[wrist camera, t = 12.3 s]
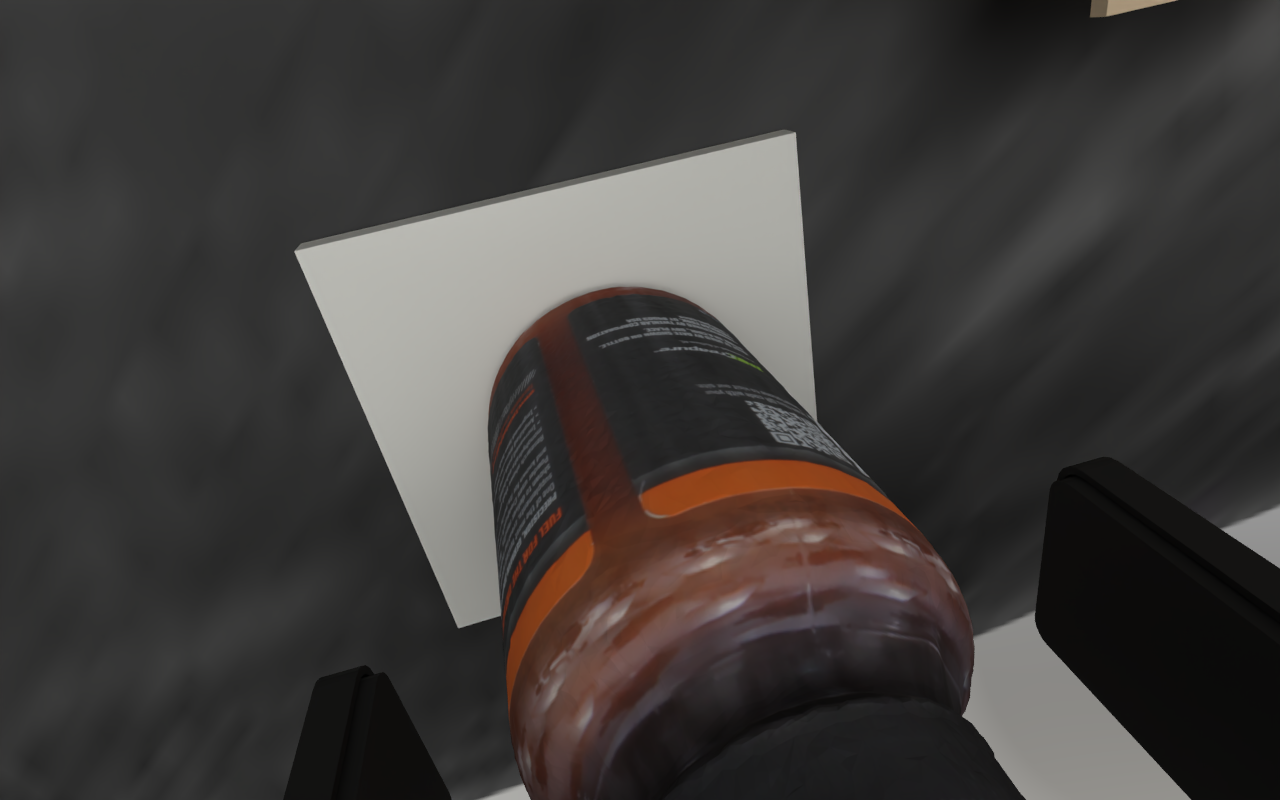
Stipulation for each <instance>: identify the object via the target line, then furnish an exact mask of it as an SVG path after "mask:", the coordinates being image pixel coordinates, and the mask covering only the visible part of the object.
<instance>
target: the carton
mask: <svg viewBox="0 0 1280 800" xmlns="http://www.w3.org/2000/svg"><path fill="white" fill-rule="evenodd" d="M1172 1H1176V0H1092V3H1091V12H1090V17H1107V16H1111V15H1115V14H1120V13H1124V12H1128V11H1133V10H1137V9H1141V8H1146V7H1150V6H1155V5H1159V4H1163V3H1168V2H1172Z"/></svg>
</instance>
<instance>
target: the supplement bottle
mask: <svg viewBox="0 0 1280 800" xmlns="http://www.w3.org/2000/svg"><path fill="white" fill-rule="evenodd" d="M487 429H488V453H489V463H490V476H491V490H492V502H493V513H494V531H495V542H496V555H497V566H498V580H499V595H500V607H501V622H502V635H503V652H504V669H505V675H506V681H507V695H508V711H509V724H510V732H511V739H512V745H513V749H514V753H515V759H516V762H517V765H518V768H519V772H520V776H521V778H522V781H523V783H524V785H525V788H526V790H527V792H528V794H529V797H530V799H531V800H1026V799H1025V798H1024V797H1023V796H1022V795H1021V794H1020V792H1019V791H1018V789H1017V788H1016V787H1015V785H1014V784H1013V783H1012V781H1011V780H1010V778H1009V777H1008V776H1007V774H1006V773H1005V771H1004V770H1003V769H1002V767H1001V766H1000V764H999V763H998V762H997V760H996V759H995V757H994V753H993V751H992V749H991V748H990V746H989V745H988V743H987V742H986V740H985V739H984V737H982V736H981V735H980V734H979V732H978V731H977V730H976V729H975V727H974V726H973V724H972V723H970V722H969V721H968V720H966V719H965V718H963V717H962V715H963V713H964V712H965V710H966V707H967V704H968V701H969V698H970V687H971V677H972V673H973V666H974V641H973V627H972V622H971V619H970V615H969V612H968V608H967V605H966V602H965V600H964V598H963V595H962V593H961V591H960V588H959V586H958V584H957V582H956V580H955V578H954V576H953V575H952V573H951V571H950V570H949V568H948V567H947V566H946V564H945V562H944V561H943V560H942V558H941V557H940V556H939V555H938V553H937V552H936V551H935V550H934V548H933V547H932V545H931V544H930V543H929V542H928V540H927V539H926V538H925V537H924V536H923V534H922V533H921V532H920V531H919V530H918V529H917V528H916V527H915V526H914V525H913V524H912V523H911V522H910V521H909V520H908V519H907V518H906V517H905V515H904V514H903V513H902V512H901V511H900V510H899V509H898V508H897V507H896V506H895V505H894V504H893V503H892V502H891V501H890V500H889V498H888V497H887V496H886V494H885V493H884V492H883V491H882V489H881V488H880V487H879V486H878V485H877V484H876V483H875V482H874V481H873V480H872V479H871V478H870V477H869V476H868V475H867V474H866V473H865V472H864V471H863V470H862V469H861V468H860V467H859V466H858V465H857V463H856V462H855V461H854V460H853V459H852V458H851V457H850V456H849V455H848V454H847V453H846V452H845V451H844V450H843V449H842V448H841V446H840V445H839V444H838V443H837V442H836V441H835V440H834V439H833V438H832V437H831V436H830V435H829V434H828V433H827V432H826V431H825V430H824V429H823V427H822V426H821V425H820V424H819V423H818V422H816V421H815V420H814V419H813V418H812V416H811V415H810V414H809V413H808V412H807V411H806V410H805V409H804V408H803V407H802V406H801V405H800V404H799V403H798V402H797V401H796V400H795V399H794V398H793V397H792V396H791V395H790V394H789V393H788V392H787V391H786V389H785V388H784V387H783V386H782V385H781V384H780V383H779V382H778V381H777V380H776V379H775V377H774V376H773V375H772V374H771V373H770V372H769V371H768V370H767V369H766V368H765V367H764V366H763V365H762V364H761V363H760V362H759V361H758V360H757V359H756V358H755V357H754V356H753V355H752V354H751V353H750V352H749V351H748V350H747V349H746V347H745V346H744V345H743V344H742V343H741V342H740V341H739V340H738V339H737V338H736V337H735V335H734V334H732V333H731V332H730V331H729V330H728V329H727V328H726V327H725V326H724V325H723V324H722V323H721V322H720V321H719V320H718V319H717V318H715V317H714V316H713V315H711V314H710V313H708V312H707V311H705V310H704V309H703V308H701V307H700V306H698V305H697V304H695V303H693V302H691V301H689V300H687V299H686V298H683V297H680V296H677V295H675V294H672V293H669V292H666V291H663V290H657V289H650V288H644V287H613V288H607V289H601V290H598V291H594V292H590V293H587V294H584V295H581V296H579V297H576V298H573V299H571V300H569V301H567V302H565V303H563V304H562V305H560V306H558V307H556V308H555V309H553V310H551V311H550V312H548V313H547V314H545V315H544V316H543V317H541V318H540V319H538V320H537V321H536V322H535V323H534V324H533V325H532V326H530V327H529V328H528V329H527V330H526V331H525V332H524V333H523V334H522V335H521V336H520V337H519V338H518V340H517V341H516V342H515V344H514V345H513V346H512V348H511V349H510V351H509V352H508V354H507V355H506V357H505V359H504V361H503V363H502V365H501V367H500V369H499V371H498V374H497V376H496V378H495V381H494V385H493V388H492V392H491V397H490V403H489V413H488V428H487Z"/></svg>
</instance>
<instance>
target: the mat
mask: <svg viewBox="0 0 1280 800" xmlns="http://www.w3.org/2000/svg"><path fill="white" fill-rule="evenodd" d="M294 252H295V254H296V256H297V259H298V261H299V263H300V265H301V268H302V270H303V272H304V275H305V277H306V279H307V282H308V284H309V286H310V288H311V291H312V293H313V295H314V298H315V300H316V302H317V305H318V307H319V309H320V311H321V314H322V316H323V318H324V321H325V323H326V325H327V327H328V330H329V332H330V334H331V337H332V339H333V341H334V344H335V346H336V348H337V350H338V353H339V355H340V357H341V360H342V362H343V364H344V367H345V369H346V371H347V373H348V376H349V378H350V380H351V383H352V385H353V387H354V390H355V392H356V394H357V396H358V399H359V401H360V403H361V406H362V408H363V410H364V413H365V415H366V417H367V419H368V422H369V424H370V426H371V429H372V431H373V433H374V436H375V438H376V440H377V442H378V445H379V447H380V449H381V452H382V454H383V456H384V459H385V461H386V463H387V465H388V468H389V470H390V472H391V475H392V477H393V479H394V482H395V484H396V486H397V488H398V491H399V493H400V495H401V498H402V500H403V502H404V505H405V507H406V509H407V511H408V514H409V516H410V518H411V521H412V523H413V525H414V527H415V530H416V532H417V534H418V537H419V539H420V541H421V544H422V546H423V548H424V550H425V553H426V555H427V557H428V560H429V562H430V564H431V567H432V569H433V571H434V573H435V576H436V578H437V580H438V583H439V585H440V587H441V590H442V592H443V594H444V596H445V599H446V601H447V603H448V606H449V608H450V610H451V613H452V615H453V617H454V619H455V622H456V624H457V626H458V628H461V627H464V626H468V625H471V624H474V623H478V622H481V621H484V620H488V619H491V618H495V617H498V616H501V607H500V595H499V580H498V566H497V555H496V542H495V531H494V513H493V502H492V490H491V476H490V463H489V453H488V429H487V428H488V413H489V403H490V397H491V392H492V388H493V385H494V381H495V378H496V376H497V374H498V371H499V369H500V367H501V365H502V363H503V361H504V359H505V357H506V355H507V354H508V352H509V351H510V349H511V348H512V346H513V345H514V344H515V342H516V341H517V340H518V338H519V337H520V336H521V335H522V334H523V333H524V332H525V331H526V330H527V329H528V328H529V327H530V326H532V325H533V324H534V323H535V322H536V321H537V320H538V319H540V318H541V317H543V316H544V315H545V314H547V313H548V312H550V311H551V310H553V309H555V308H556V307H558V306H560V305H562V304H563V303H565V302H567V301H569V300H571V299H573V298H576V297H579V296H581V295H584V294H587V293H590V292H594V291H598V290H601V289H607V288H613V287H644V288H650V289H657V290H663V291H666V292H669V293H672V294H675V295H677V296H680V297H683V298H686V299H687V300H689V301H691V302H693V303H695V304H697V305H698V306H700V307H701V308H703V309H704V310H705V311H707V312H708V313H710V314H711V315H713V316H714V317H715V318H717V319H718V320H719V321H720V322H721V323H722V324H723V325H724V326H725V327H726V328H727V329H728V330H729V331H730V332H731V333H732V334H734V335H735V337H736V338H737V339H738V340H739V341H740V342H741V343H742V344H743V345H744V346H745V347H746V349H747V350H748V351H749V352H750V353H751V354H752V355H753V356H754V357H755V358H756V359H757V360H758V361H759V362H760V363H761V364H762V365H763V366H764V367H765V368H766V369H767V370H768V371H769V372H770V373H771V374H772V375H773V376H774V377H775V379H776V380H777V381H778V382H779V383H780V384H781V385H782V386H783V387H784V388H785V389H786V391H787V392H788V393H789V394H790V395H791V396H792V397H793V398H794V399H795V400H796V401H797V402H798V403H799V404H800V405H801V406H802V407H803V408H804V409H805V410H806V411H807V412H808V413H809V414H810V415H811V416H812V418H813V419H814V420H815V421H816V422H817V413H816V400H815V386H814V373H813V359H812V346H811V333H810V319H809V306H808V292H807V279H806V265H805V252H804V239H803V225H802V212H801V198H800V185H799V171H798V158H797V144H796V132H792V131H788V130H779V131H775V132H771V133H767V134H762V135H758V136H754V137H750V138H745V139H741V140H737V141H733V142H728V143H724V144H720V145H716V146H712V147H707V148H703V149H699V150H695V151H690V152H686V153H682V154H678V155H673V156H669V157H665V158H661V159H657V160H652V161H648V162H644V163H640V164H635V165H631V166H627V167H623V168H618V169H614V170H610V171H606V172H601V173H597V174H593V175H589V176H585V177H580V178H576V179H572V180H568V181H563V182H559V183H555V184H551V185H546V186H542V187H538V188H534V189H530V190H525V191H521V192H517V193H513V194H508V195H504V196H500V197H496V198H491V199H487V200H483V201H479V202H474V203H470V204H466V205H462V206H458V207H453V208H449V209H445V210H441V211H436V212H432V213H428V214H424V215H419V216H415V217H411V218H407V219H402V220H398V221H394V222H390V223H386V224H381V225H377V226H373V227H369V228H364V229H360V230H356V231H352V232H347V233H343V234H339V235H335V236H331V237H326V238H322V239H318V240H314V241H309V242H305V243H301V244H300V245H299V246H298V248H297V249H296V250H295V251H294Z"/></svg>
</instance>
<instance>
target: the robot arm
mask: <svg viewBox="0 0 1280 800" xmlns="http://www.w3.org/2000/svg"><path fill="white" fill-rule="evenodd" d="M1035 622H1036V626H1037V629H1038V631H1039V634H1040V635H1041V637H1042V639H1043V640H1044V641H1045V642H1046V644H1047V645H1048V646H1049V647H1050V648H1051V649H1052V650H1053V651H1054V653H1055V654H1056V655H1057V656H1058V657H1059V658H1060V659H1061V660H1062V661H1063V662H1064V663H1065V664H1066V665H1067V666H1068V667H1069V669H1070V670H1071V671H1072V672H1073V673H1074V674H1075V675H1076V676H1077V677H1078V678H1079V679H1080V680H1081V682H1082V683H1083V684H1084V685H1085V686H1086V687H1087V688H1088V689H1089V690H1090V691H1091V692H1092V693H1093V694H1094V696H1095V697H1096V698H1097V699H1098V700H1099V701H1100V702H1101V703H1102V704H1103V705H1104V706H1105V707H1106V708H1107V709H1108V711H1109V712H1110V713H1111V714H1112V715H1113V716H1114V717H1115V718H1116V719H1117V720H1118V721H1119V722H1120V723H1121V725H1122V726H1123V727H1124V728H1125V729H1126V730H1127V731H1128V732H1129V733H1130V734H1131V735H1132V736H1133V737H1134V738H1135V740H1136V741H1137V742H1138V743H1139V744H1140V745H1141V746H1142V747H1143V748H1144V749H1145V750H1146V751H1147V753H1148V754H1149V755H1150V756H1151V757H1152V758H1153V759H1154V760H1155V761H1156V762H1157V763H1158V764H1159V765H1160V767H1161V768H1162V769H1163V770H1164V771H1165V772H1166V773H1167V774H1168V775H1169V776H1170V777H1171V778H1172V779H1173V780H1174V782H1175V783H1176V784H1177V785H1178V786H1179V787H1180V788H1181V789H1182V790H1183V791H1184V792H1185V793H1186V794H1187V795H1188V797H1189V798H1190V799H1191V800H1280V568H1278V567H1277V566H1275V565H1274V564H1272V563H1271V562H1269V561H1268V560H1266V559H1265V558H1263V557H1262V556H1260V555H1258V554H1257V553H1256V552H1254V551H1253V550H1251V549H1250V548H1248V547H1246V546H1245V545H1244V544H1242V543H1241V542H1239V541H1237V540H1236V539H1234V538H1233V537H1231V536H1230V535H1228V534H1227V533H1225V532H1224V531H1222V530H1221V529H1219V528H1218V527H1216V526H1215V525H1213V524H1212V523H1210V522H1209V521H1207V520H1206V519H1204V518H1203V517H1201V516H1200V515H1198V514H1197V513H1195V512H1194V511H1192V510H1191V509H1189V508H1188V507H1186V506H1185V505H1183V504H1182V503H1180V502H1179V501H1177V500H1176V499H1174V498H1173V497H1171V496H1170V495H1168V494H1167V493H1165V492H1164V491H1162V490H1161V489H1159V488H1158V487H1156V486H1155V485H1153V484H1151V483H1150V482H1148V481H1147V480H1145V479H1144V478H1142V477H1141V476H1139V475H1138V474H1136V473H1135V472H1133V471H1132V470H1130V469H1129V468H1127V467H1126V466H1124V465H1123V464H1121V463H1120V462H1118V461H1116V460H1114V459H1112V458H1109V457H1101V458H1098V459H1094V460H1090V461H1087V462H1083V463H1080V464H1076V465H1073V466H1069V467H1066V468H1063V469H1062V470H1061V472H1060V473H1059V475H1058V479H1057V481H1056V482H1054V483H1053V484H1052V485H1051V488H1050V494H1049V502H1048V511H1047V519H1046V527H1045V536H1044V544H1043V553H1042V561H1041V569H1040V578H1039V586H1038V595H1037V603H1036V612H1035ZM283 800H451V796H450V794H449V791H448V789H447V787H446V786H445V784H444V782H443V780H442V778H441V776H440V774H439V772H438V770H437V768H436V767H435V765H434V763H433V761H432V759H431V757H430V755H429V753H428V751H427V750H426V748H425V746H424V744H423V742H422V740H421V738H420V736H419V734H418V732H417V731H416V729H415V727H414V725H413V723H412V721H411V719H410V717H409V715H408V713H407V712H406V710H405V708H404V706H403V704H402V702H401V700H400V698H399V696H398V694H397V693H396V691H395V689H394V687H393V685H392V683H391V681H390V679H389V678H388V676H387V675H386V674H385V673H384V672H382V673H378V674H375V675H374V673H373V672H372V671H371V669H370V668H369V667H367V666H366V665H365V666H360V667H357V668H353V669H350V670H346V671H343V672H339V673H336V674H332V675H329V676H325V677H321V678H320V679H319V680H318V681H317V682H316V684H315V686H314V689H313V692H312V696H311V700H310V703H309V707H308V711H307V714H306V718H305V722H304V725H303V729H302V733H301V736H300V740H299V744H298V748H297V751H296V755H295V759H294V762H293V766H292V770H291V773H290V777H289V781H288V784H287V788H286V792H285V795H284V799H283Z"/></svg>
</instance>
